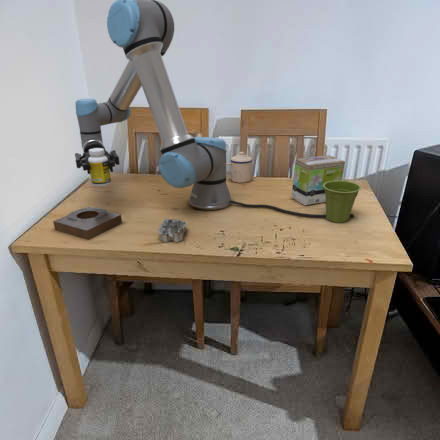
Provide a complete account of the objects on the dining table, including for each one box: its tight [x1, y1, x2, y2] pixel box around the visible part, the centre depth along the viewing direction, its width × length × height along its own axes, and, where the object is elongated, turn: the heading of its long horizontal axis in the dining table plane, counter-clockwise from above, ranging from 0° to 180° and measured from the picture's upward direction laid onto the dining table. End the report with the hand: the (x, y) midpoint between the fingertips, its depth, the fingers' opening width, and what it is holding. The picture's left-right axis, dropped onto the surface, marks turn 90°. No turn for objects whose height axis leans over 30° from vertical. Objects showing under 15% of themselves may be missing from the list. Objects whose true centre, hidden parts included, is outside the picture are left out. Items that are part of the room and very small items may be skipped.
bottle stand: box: [52, 206, 123, 241], centre depth 134 cm, size 16×16×3 cm
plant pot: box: [323, 180, 362, 223], centre depth 134 cm, size 12×12×11 cm
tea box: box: [291, 154, 346, 206], centre depth 150 cm, size 15×10×15 cm
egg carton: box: [157, 217, 187, 243], centre depth 126 cm, size 11×8×4 cm
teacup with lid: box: [226, 151, 253, 184], centre depth 172 cm, size 12×9×12 cm
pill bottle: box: [88, 148, 112, 188], centre depth 131 cm, size 6×6×11 cm
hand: (99, 168), depth 127 cm, fingers closed on pill bottle, 6 cm apart
